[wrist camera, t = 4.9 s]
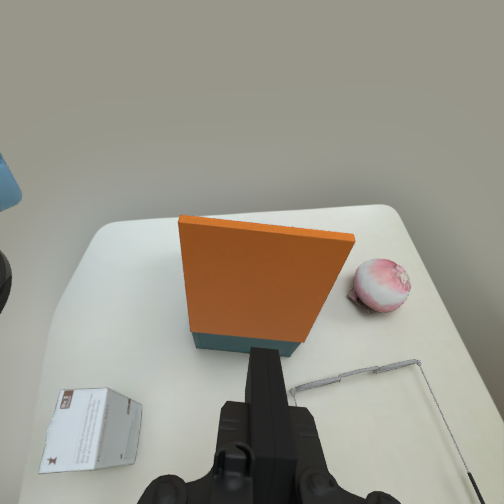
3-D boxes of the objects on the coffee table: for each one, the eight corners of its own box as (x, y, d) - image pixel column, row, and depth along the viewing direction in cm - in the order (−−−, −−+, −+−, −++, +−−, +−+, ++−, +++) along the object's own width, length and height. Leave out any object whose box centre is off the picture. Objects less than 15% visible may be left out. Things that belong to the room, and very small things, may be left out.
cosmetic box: (136, 464, 33) (97, 475, 23) (92, 467, 32) (33, 479, 22) (143, 401, 36) (112, 386, 26) (104, 403, 36) (57, 388, 25)
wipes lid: (180, 214, 21) (177, 221, 21) (354, 233, 22) (356, 241, 21) (191, 325, 33) (190, 331, 33) (303, 336, 34) (304, 343, 33)
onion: (399, 321, 45) (427, 302, 38) (348, 317, 44) (368, 297, 38) (388, 273, 49) (412, 250, 43) (342, 269, 48) (359, 245, 42)
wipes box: (212, 249, 48) (211, 219, 42) (290, 258, 49) (300, 229, 42) (196, 348, 40) (191, 329, 33) (289, 357, 40) (303, 340, 34)
